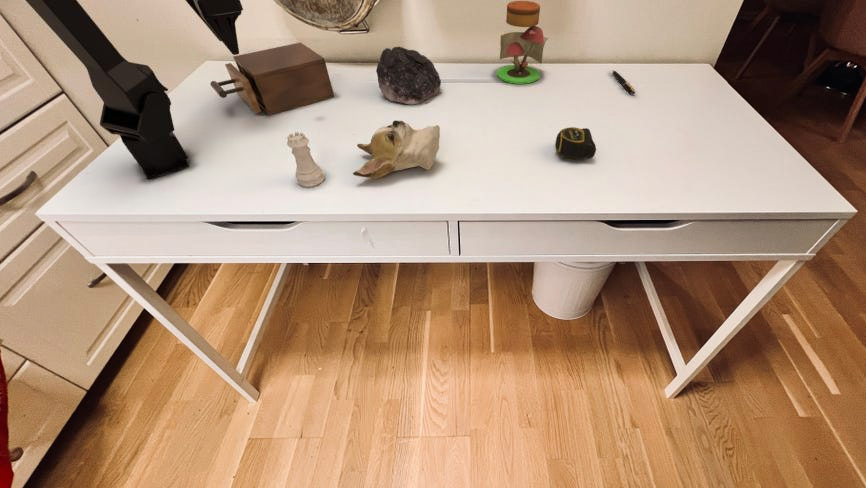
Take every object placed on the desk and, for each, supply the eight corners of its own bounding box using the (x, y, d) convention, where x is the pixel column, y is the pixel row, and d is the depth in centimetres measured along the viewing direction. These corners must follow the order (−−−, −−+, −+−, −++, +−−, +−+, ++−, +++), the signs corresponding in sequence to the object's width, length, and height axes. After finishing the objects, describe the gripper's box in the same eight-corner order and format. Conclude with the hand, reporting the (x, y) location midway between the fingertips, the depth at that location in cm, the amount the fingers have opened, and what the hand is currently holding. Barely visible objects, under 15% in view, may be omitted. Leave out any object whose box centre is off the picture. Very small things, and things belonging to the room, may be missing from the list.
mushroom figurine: (547, 85, 93) (557, 12, 82) (495, 84, 93) (498, 11, 82) (543, 66, 101) (551, -2, 90) (494, 66, 101) (497, -3, 90)
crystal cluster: (451, 100, 89) (451, 51, 82) (397, 109, 83) (392, 57, 76) (422, 84, 97) (420, 39, 91) (371, 92, 91) (365, 44, 84)
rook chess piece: (330, 180, 66) (316, 136, 60) (306, 191, 64) (289, 146, 58) (316, 169, 68) (301, 126, 62) (292, 180, 66) (274, 136, 60)
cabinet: (269, 115, 81) (253, 75, 75) (249, 95, 88) (232, 56, 82) (334, 97, 88) (324, 58, 82) (311, 79, 94) (300, 42, 88)
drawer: (232, 119, 78) (217, 87, 73) (216, 100, 84) (201, 69, 79) (318, 96, 86) (309, 65, 81) (297, 79, 92) (288, 50, 87)
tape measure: (593, 164, 70) (598, 145, 68) (555, 162, 70) (559, 143, 68) (588, 144, 75) (592, 126, 72) (552, 143, 75) (555, 124, 72)
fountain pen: (609, 72, 99) (610, 66, 98) (613, 72, 99) (615, 66, 98) (631, 96, 90) (633, 90, 89) (636, 96, 90) (638, 89, 89)
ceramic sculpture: (440, 132, 59) (341, 143, 59) (446, 180, 66) (357, 191, 65) (436, 102, 67) (347, 111, 66) (442, 148, 73) (361, 157, 72)
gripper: (255, -57, 61) (289, 52, 72) (223, -71, 71) (257, 27, 82) (174, -50, 56) (225, 65, 67) (152, -66, 66) (199, 37, 77)
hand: (229, 47), depth 74 cm, fingers open, 9 cm apart
